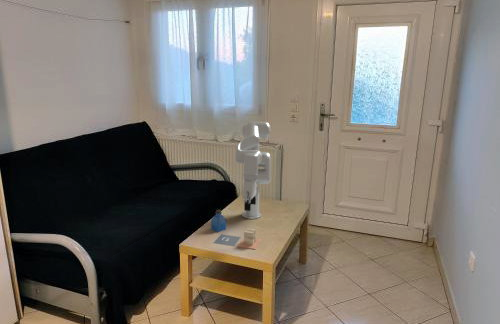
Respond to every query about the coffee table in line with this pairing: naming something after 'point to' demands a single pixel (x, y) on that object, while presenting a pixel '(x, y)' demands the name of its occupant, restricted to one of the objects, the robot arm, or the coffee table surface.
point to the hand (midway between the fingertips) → (250, 207)
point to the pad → (249, 245)
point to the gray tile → (227, 240)
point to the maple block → (249, 236)
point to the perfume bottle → (218, 222)
